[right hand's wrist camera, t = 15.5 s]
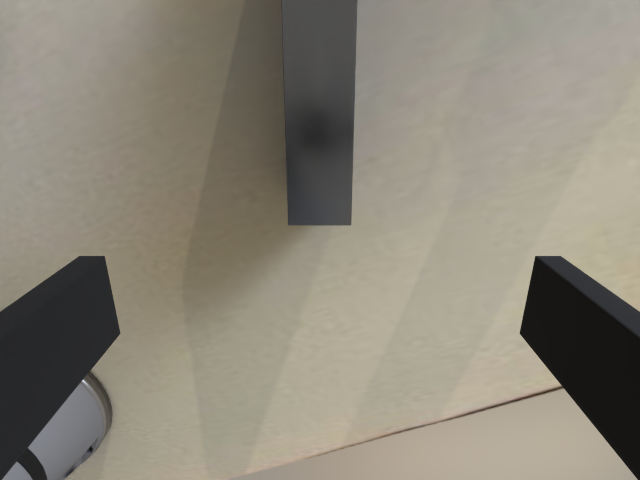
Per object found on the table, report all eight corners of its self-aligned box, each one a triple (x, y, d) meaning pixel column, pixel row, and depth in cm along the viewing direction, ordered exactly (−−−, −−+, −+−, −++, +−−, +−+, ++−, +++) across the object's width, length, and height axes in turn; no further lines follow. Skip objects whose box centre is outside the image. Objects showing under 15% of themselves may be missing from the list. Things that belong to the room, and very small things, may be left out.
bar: (344, 194, 37) (351, 225, 29) (295, 194, 37) (288, 225, 28) (352, -186, 27) (365, -300, 19) (286, -186, 27) (272, -299, 19)
